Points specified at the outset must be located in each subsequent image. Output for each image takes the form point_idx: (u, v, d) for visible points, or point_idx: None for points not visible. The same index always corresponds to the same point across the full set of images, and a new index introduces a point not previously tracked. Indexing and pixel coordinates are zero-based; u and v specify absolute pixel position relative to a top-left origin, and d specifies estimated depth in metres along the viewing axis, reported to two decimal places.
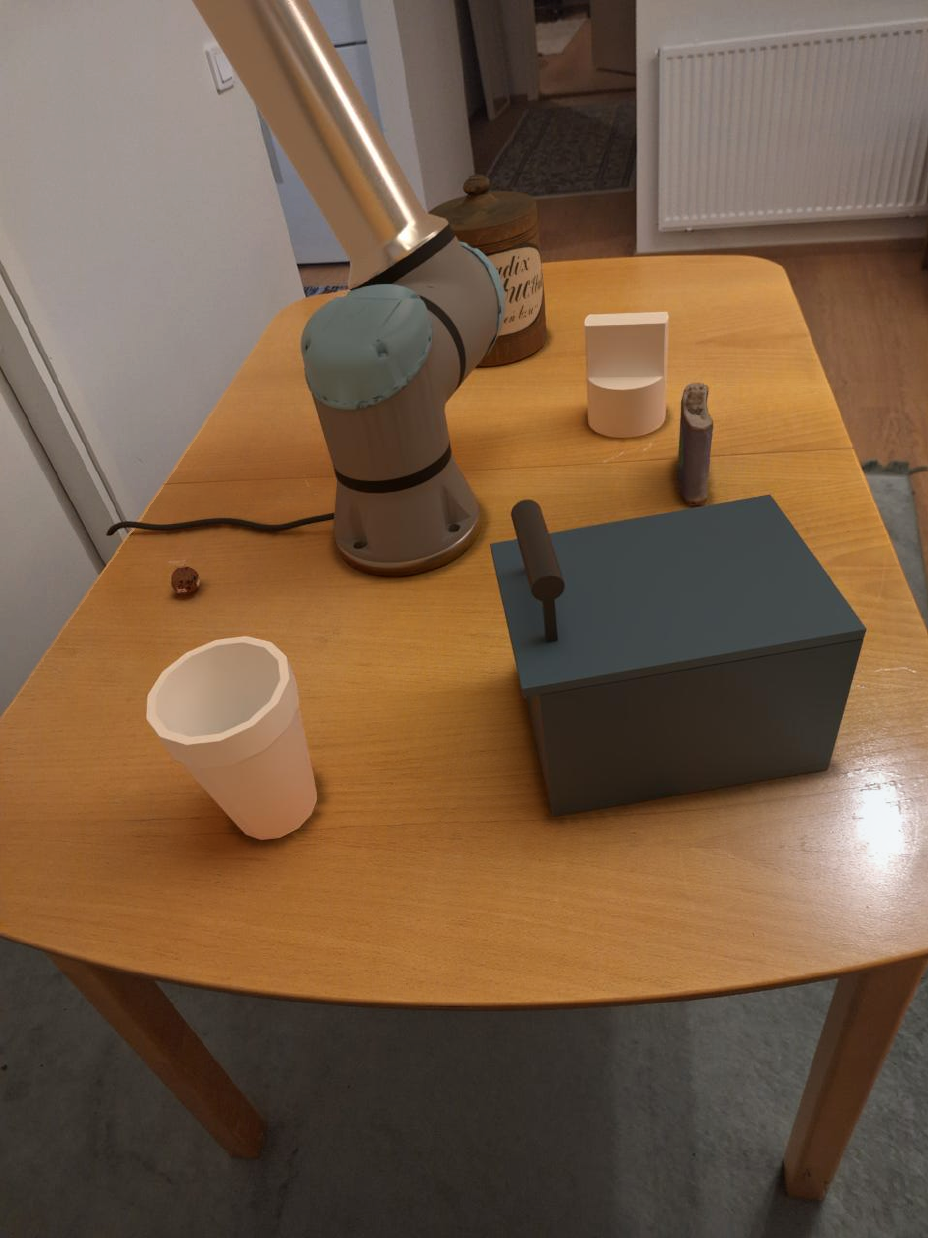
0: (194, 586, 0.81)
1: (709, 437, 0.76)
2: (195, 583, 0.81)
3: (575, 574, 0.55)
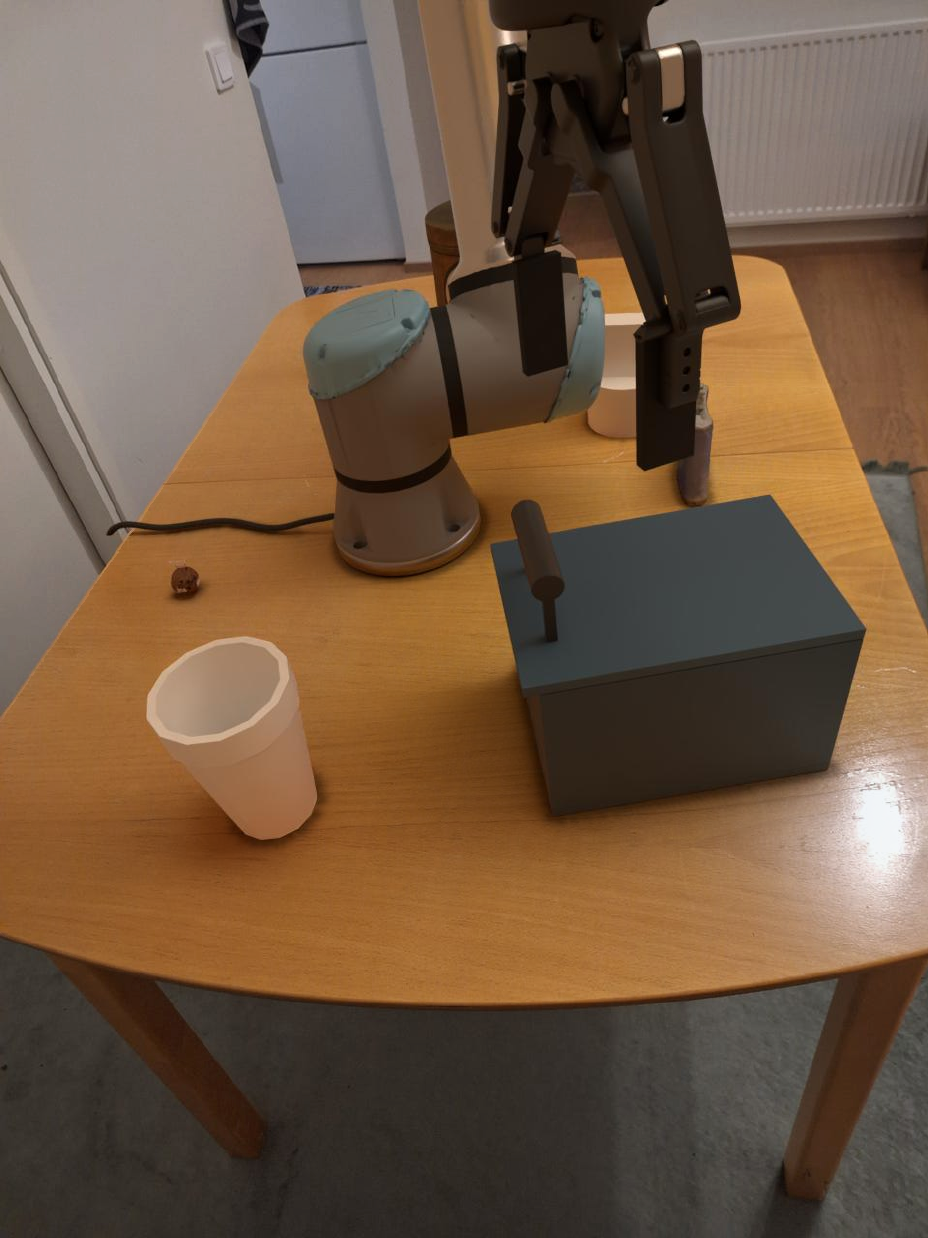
0: (194, 586, 0.81)
1: (709, 437, 0.76)
2: (195, 583, 0.81)
3: (575, 574, 0.55)
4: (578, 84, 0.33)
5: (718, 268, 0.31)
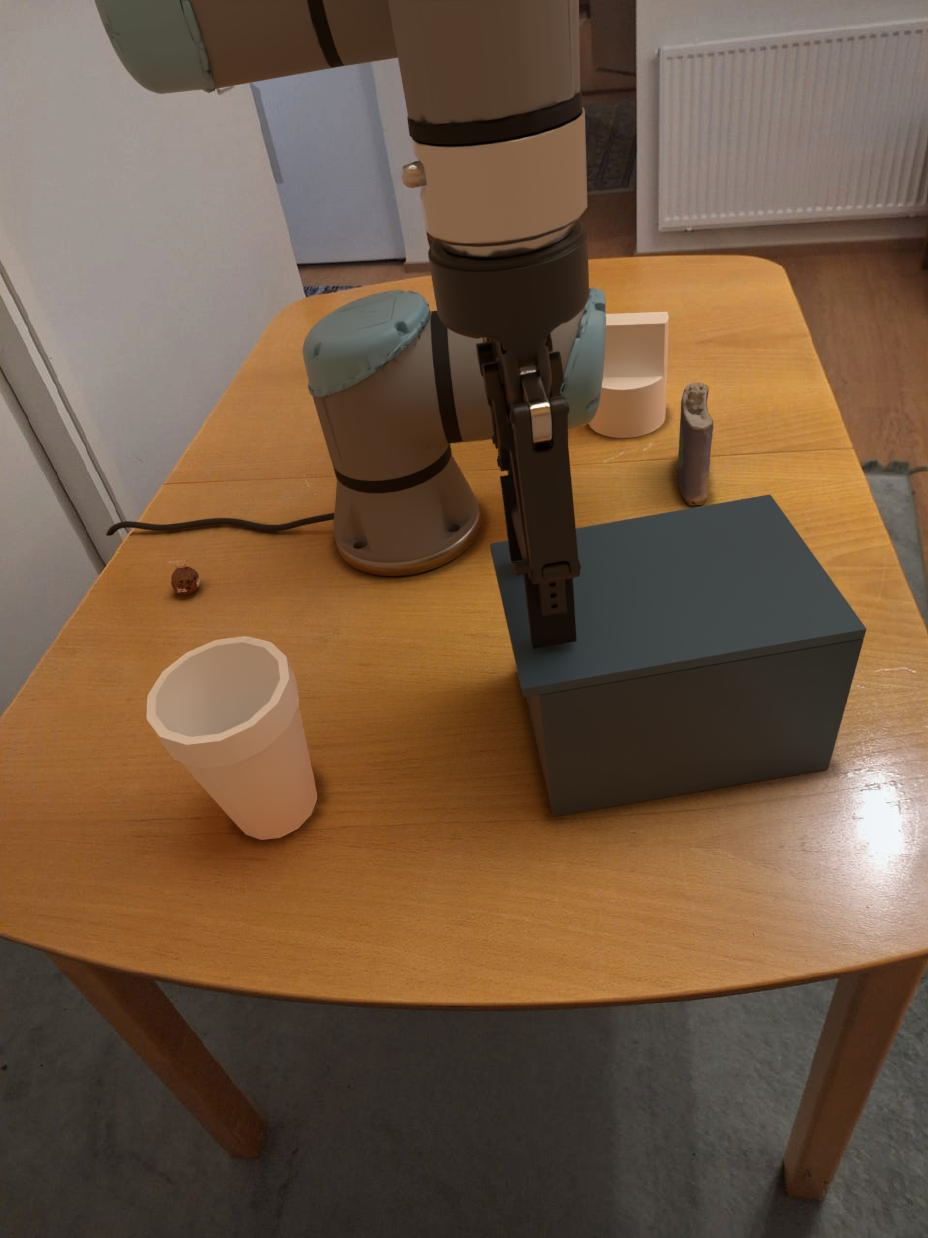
0: (194, 586, 0.81)
1: (709, 437, 0.76)
2: (195, 583, 0.81)
3: None
4: (500, 372, 0.40)
5: (564, 549, 0.41)
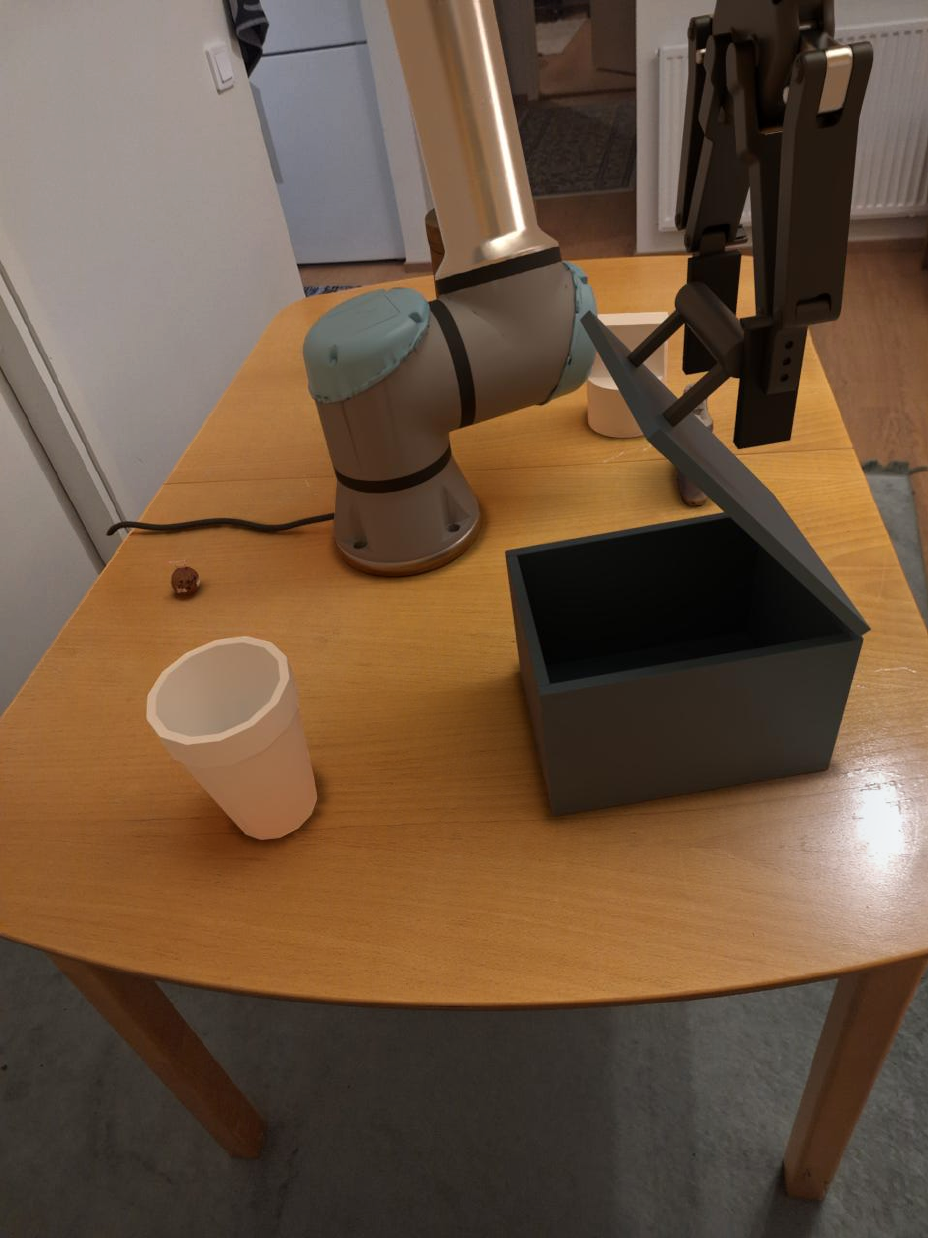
0: (194, 586, 0.81)
1: None
2: (195, 583, 0.81)
3: (667, 401, 0.47)
4: (755, 49, 0.32)
5: (828, 276, 0.33)
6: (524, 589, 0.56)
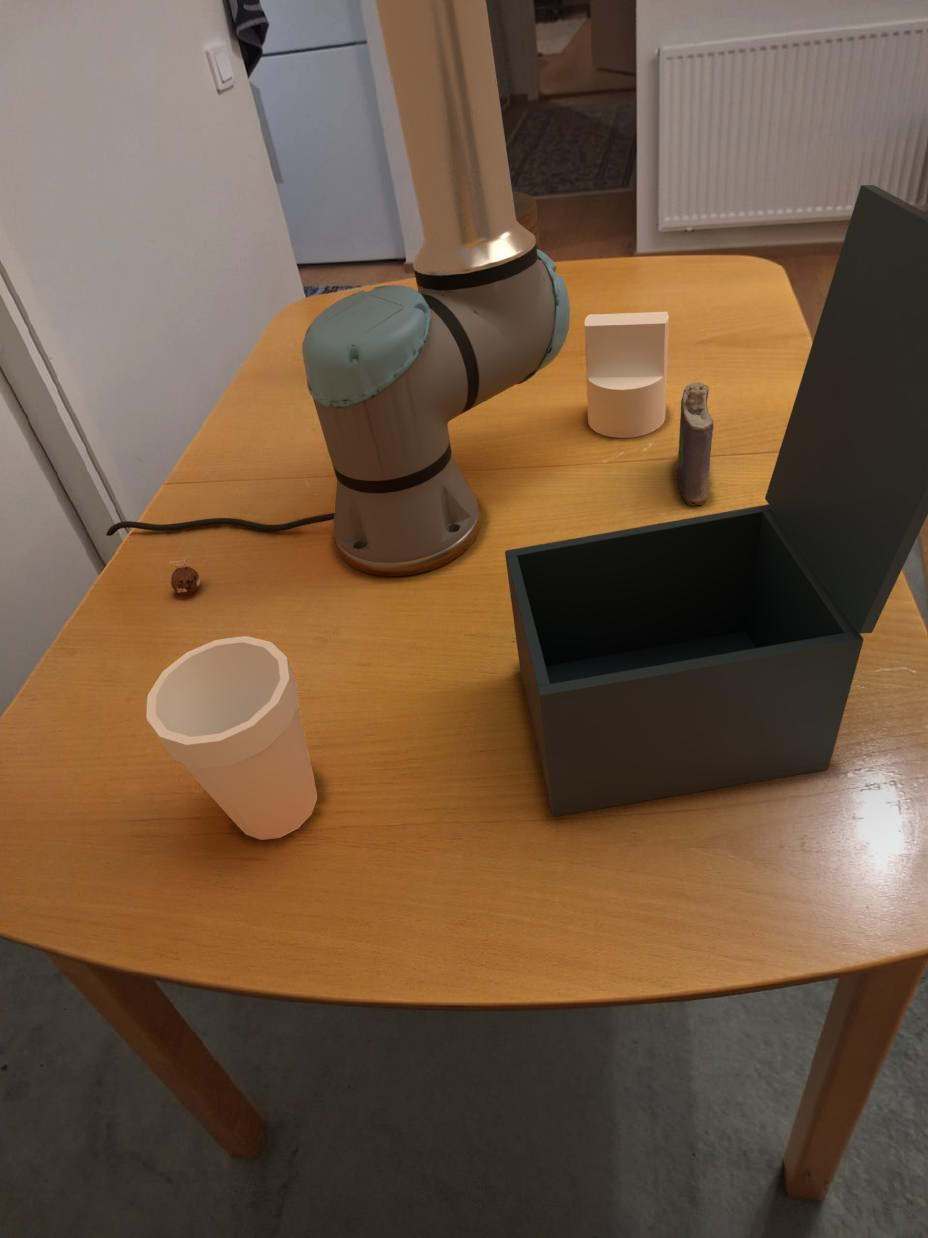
0: (194, 586, 0.81)
1: (709, 437, 0.76)
2: (195, 583, 0.81)
3: None
4: None
5: None
6: (524, 589, 0.56)
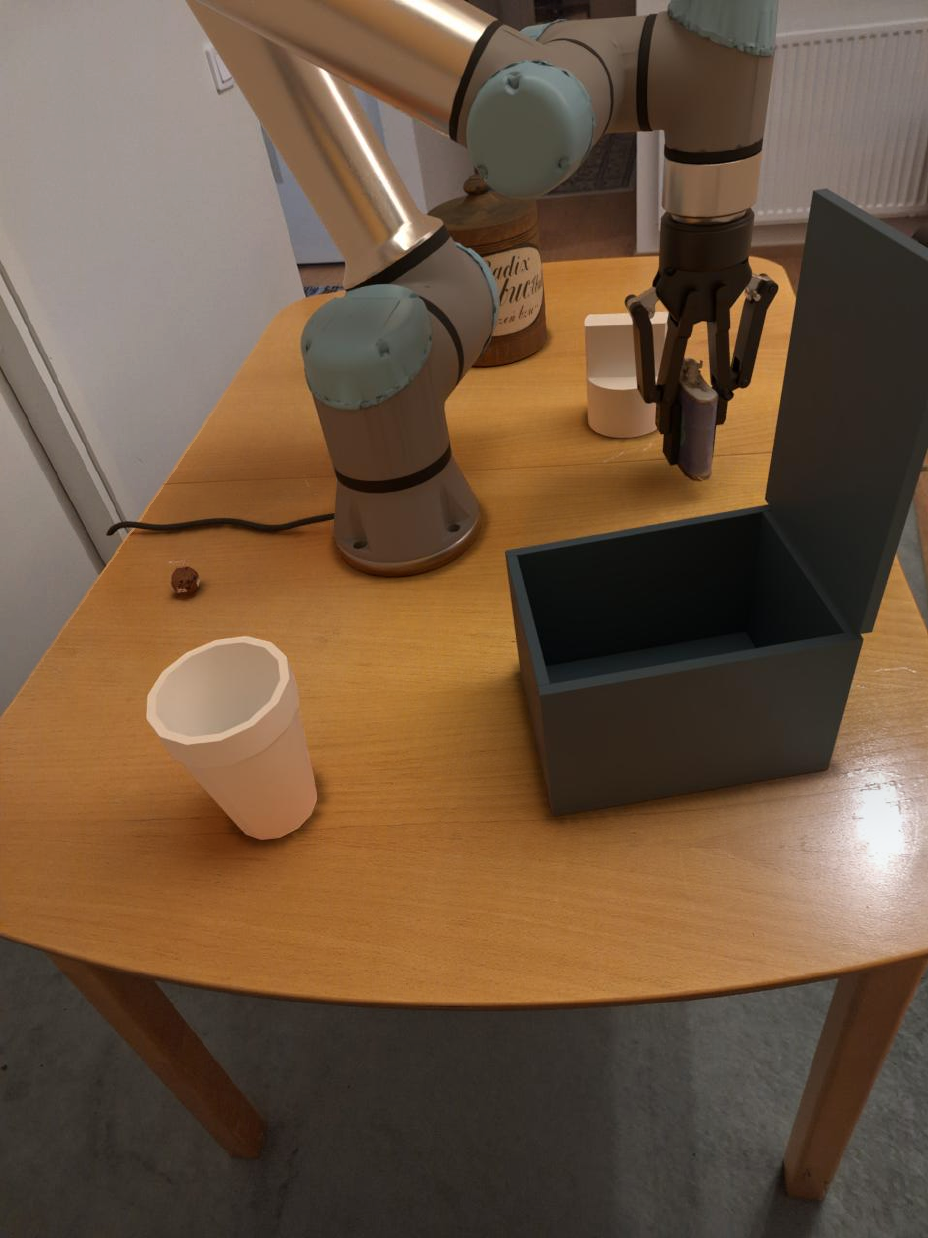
0: (194, 586, 0.81)
1: (715, 409, 0.75)
2: (195, 583, 0.81)
3: None
4: None
5: (641, 383, 0.76)
6: (524, 589, 0.56)
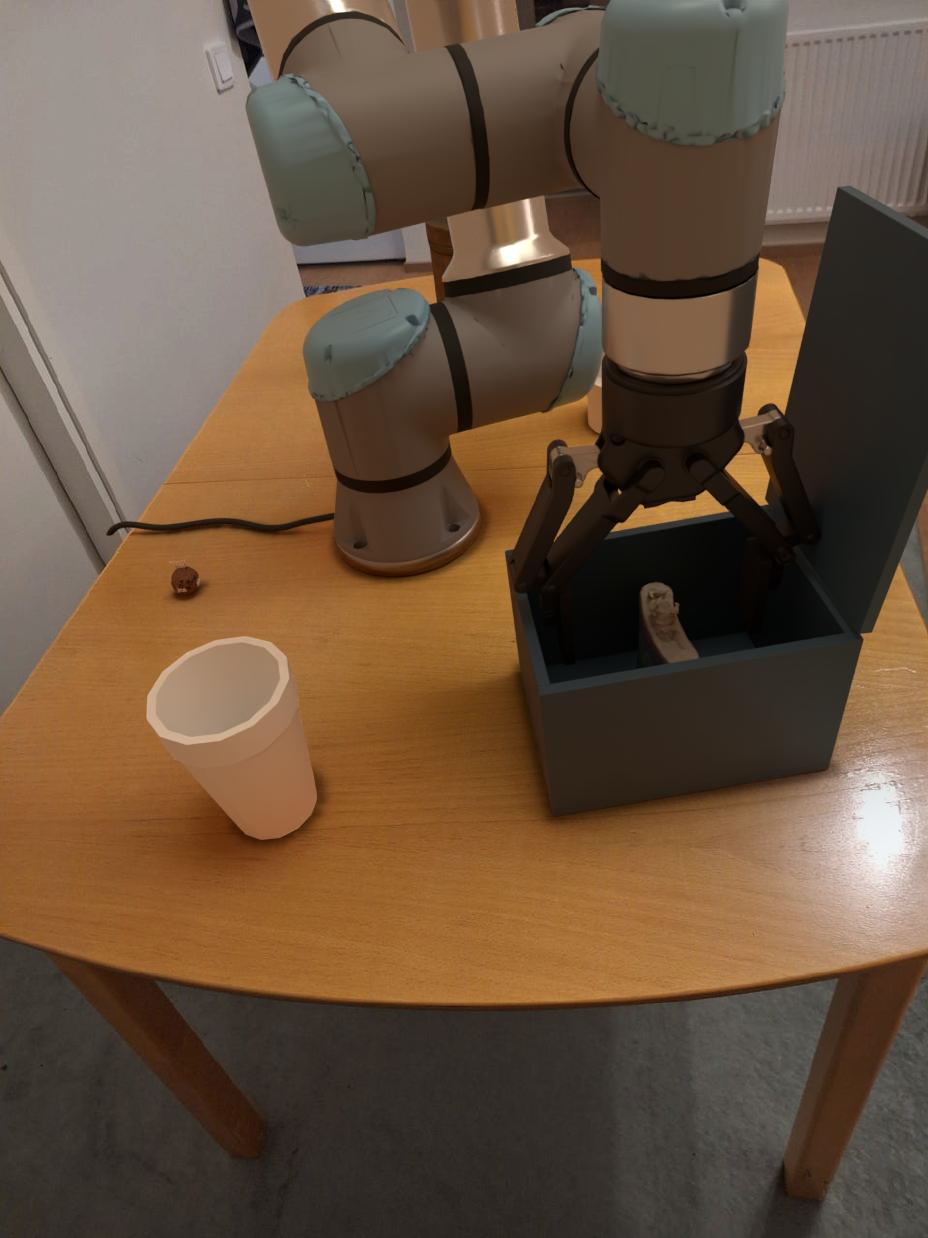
0: (194, 586, 0.81)
1: None
2: (195, 583, 0.81)
3: None
4: None
5: (519, 561, 0.50)
6: None
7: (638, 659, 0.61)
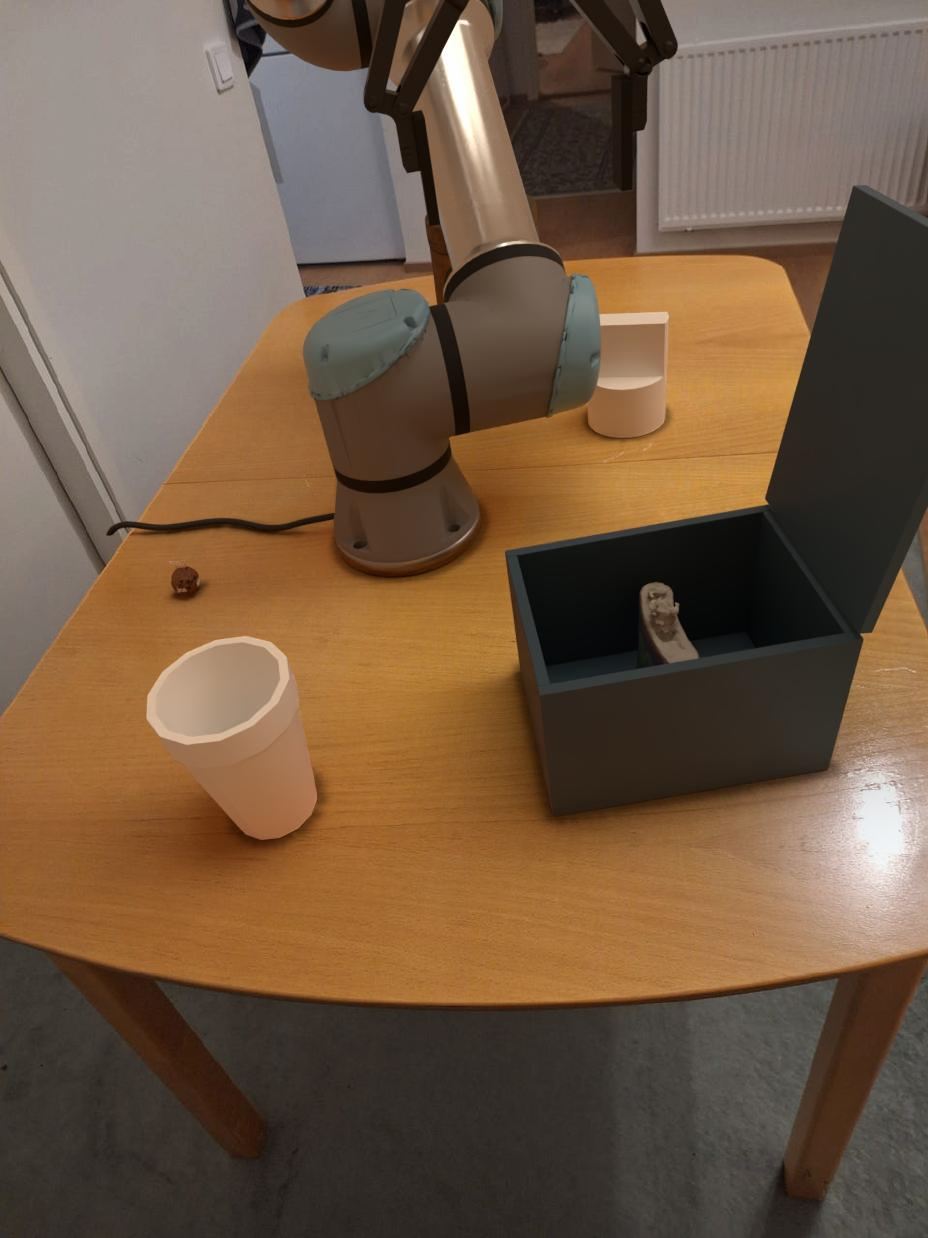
0: (194, 586, 0.81)
1: None
2: (195, 583, 0.81)
3: None
4: None
5: (369, 72, 0.51)
6: (524, 589, 0.56)
7: (638, 659, 0.61)
